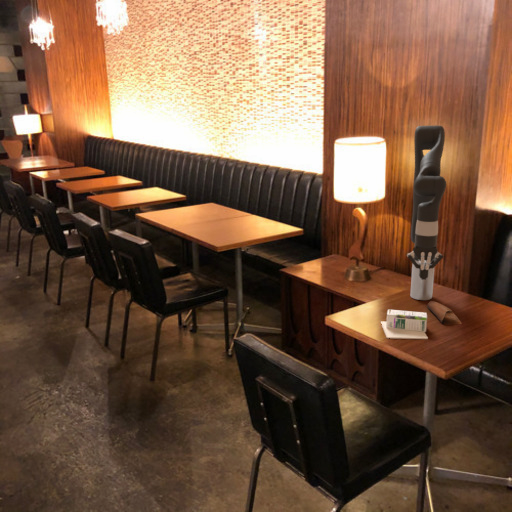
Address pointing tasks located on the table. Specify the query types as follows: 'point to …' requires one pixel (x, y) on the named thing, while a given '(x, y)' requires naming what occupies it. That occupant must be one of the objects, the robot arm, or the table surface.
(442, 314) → the sunglasses case
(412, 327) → the syrup box
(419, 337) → the placemat
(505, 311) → the table surface
